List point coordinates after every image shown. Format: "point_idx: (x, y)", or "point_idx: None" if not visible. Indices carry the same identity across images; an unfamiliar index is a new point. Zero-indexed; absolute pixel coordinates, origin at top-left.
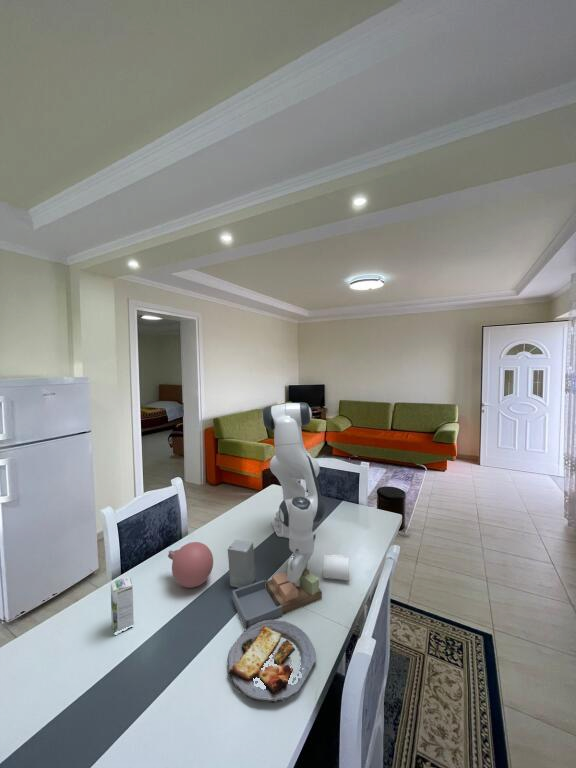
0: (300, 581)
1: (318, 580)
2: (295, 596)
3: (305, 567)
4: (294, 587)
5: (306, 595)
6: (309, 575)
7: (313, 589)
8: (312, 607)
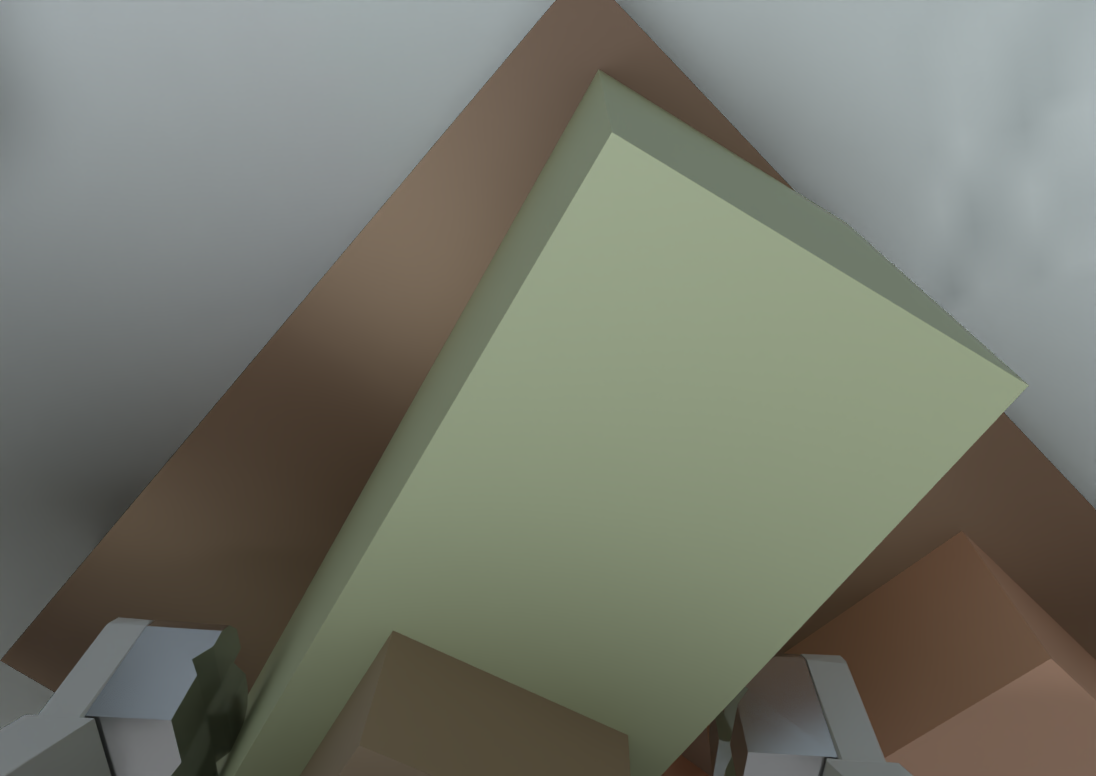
0: (748, 712)
1: (635, 143)
2: (1024, 596)
3: (89, 760)
4: (950, 754)
5: None
6: (516, 594)
7: (840, 237)
8: (905, 131)
